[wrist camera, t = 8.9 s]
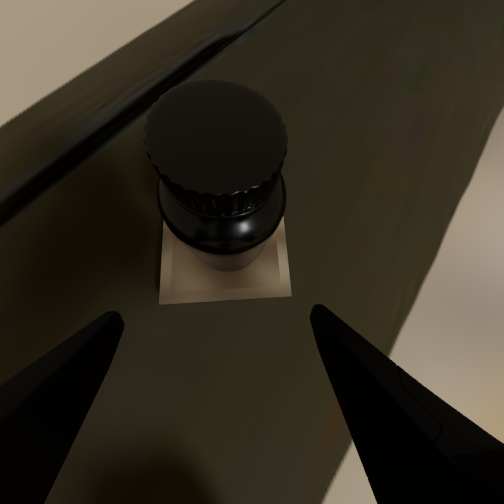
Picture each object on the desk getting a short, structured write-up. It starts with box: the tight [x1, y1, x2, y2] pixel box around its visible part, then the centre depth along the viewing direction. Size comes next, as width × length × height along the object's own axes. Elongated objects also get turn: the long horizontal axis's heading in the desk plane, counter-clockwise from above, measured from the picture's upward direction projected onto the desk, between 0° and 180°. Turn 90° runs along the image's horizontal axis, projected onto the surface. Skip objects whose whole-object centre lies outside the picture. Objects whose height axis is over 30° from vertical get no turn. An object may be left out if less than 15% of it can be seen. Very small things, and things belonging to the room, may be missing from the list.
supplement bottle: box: [143, 78, 288, 272], centre depth 12 cm, size 7×7×12 cm
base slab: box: [159, 217, 292, 304], centre depth 19 cm, size 12×12×2 cm
